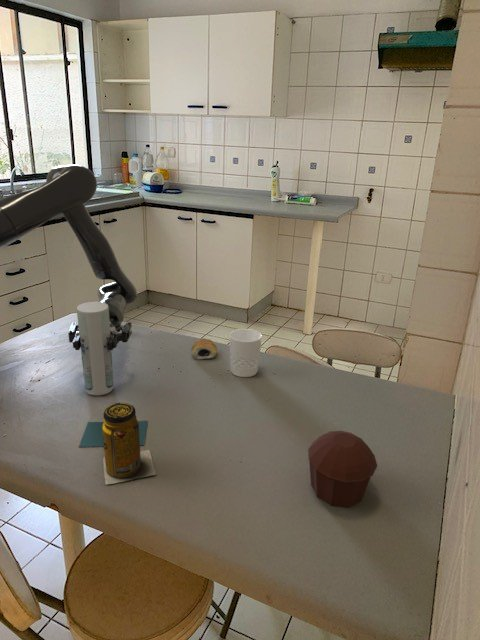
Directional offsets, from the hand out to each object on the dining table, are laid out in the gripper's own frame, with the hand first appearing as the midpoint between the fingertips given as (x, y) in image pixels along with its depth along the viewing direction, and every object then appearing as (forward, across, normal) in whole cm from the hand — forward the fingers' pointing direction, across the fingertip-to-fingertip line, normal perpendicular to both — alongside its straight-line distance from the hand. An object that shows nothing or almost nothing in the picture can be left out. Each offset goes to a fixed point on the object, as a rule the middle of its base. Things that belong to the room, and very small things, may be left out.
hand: (93, 346), depth 99 cm
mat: (+15, +6, +12) cm, 20 cm away
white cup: (-10, +34, +12) cm, 38 cm away
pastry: (-20, +24, +12) cm, 34 cm away
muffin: (+32, +46, +12) cm, 57 cm away
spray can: (-2, 0, +12) cm, 12 cm away
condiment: (+25, +10, +12) cm, 29 cm away
